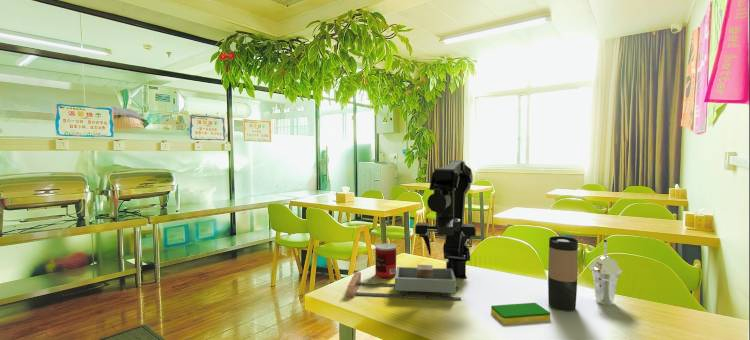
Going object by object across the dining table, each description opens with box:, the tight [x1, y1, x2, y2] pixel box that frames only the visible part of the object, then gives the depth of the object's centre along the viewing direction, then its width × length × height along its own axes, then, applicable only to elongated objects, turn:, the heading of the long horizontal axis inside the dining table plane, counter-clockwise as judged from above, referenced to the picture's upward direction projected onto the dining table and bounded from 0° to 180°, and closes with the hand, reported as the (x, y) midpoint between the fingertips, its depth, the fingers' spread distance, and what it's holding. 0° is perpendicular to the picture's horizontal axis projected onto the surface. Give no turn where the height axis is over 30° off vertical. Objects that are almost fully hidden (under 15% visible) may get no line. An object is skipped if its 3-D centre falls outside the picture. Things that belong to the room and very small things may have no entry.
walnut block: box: [416, 264, 434, 279], centre depth 117 cm, size 5×5×5 cm
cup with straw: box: [588, 239, 623, 306], centre depth 109 cm, size 8×9×20 cm
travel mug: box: [547, 235, 579, 312], centre depth 106 cm, size 8×8×20 cm
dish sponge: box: [490, 302, 551, 325], centre depth 100 cm, size 7×14×2 cm, turn 99°
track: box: [347, 271, 462, 301], centre depth 118 cm, size 35×13×4 cm, turn 83°
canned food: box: [374, 243, 397, 280], centre depth 133 cm, size 8×8×11 cm
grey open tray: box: [394, 266, 457, 297], centre depth 117 cm, size 19×12×6 cm, turn 83°
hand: (444, 255), depth 116 cm, fingers open, 9 cm apart
